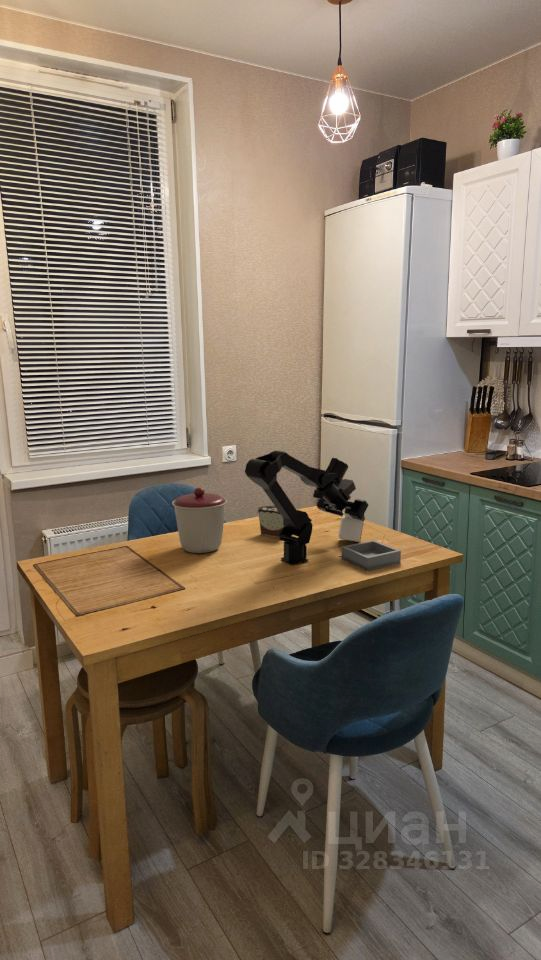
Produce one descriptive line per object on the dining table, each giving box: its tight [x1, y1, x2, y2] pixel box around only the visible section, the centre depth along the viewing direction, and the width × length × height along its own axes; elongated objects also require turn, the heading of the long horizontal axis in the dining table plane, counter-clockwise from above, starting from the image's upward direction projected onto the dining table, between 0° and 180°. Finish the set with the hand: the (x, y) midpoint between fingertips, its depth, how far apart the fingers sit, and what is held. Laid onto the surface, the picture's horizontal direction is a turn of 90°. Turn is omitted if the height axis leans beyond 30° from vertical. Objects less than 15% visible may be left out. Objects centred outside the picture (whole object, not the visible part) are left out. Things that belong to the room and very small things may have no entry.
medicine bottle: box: [337, 508, 365, 543], centre depth 213 cm, size 7×7×12 cm
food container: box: [256, 505, 284, 538], centre depth 223 cm, size 12×6×10 cm, turn 58°
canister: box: [171, 487, 228, 554], centre depth 206 cm, size 18×18×21 cm
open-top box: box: [341, 540, 402, 571], centre depth 194 cm, size 13×13×4 cm
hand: (353, 517), depth 213 cm, fingers closed on medicine bottle, 9 cm apart
